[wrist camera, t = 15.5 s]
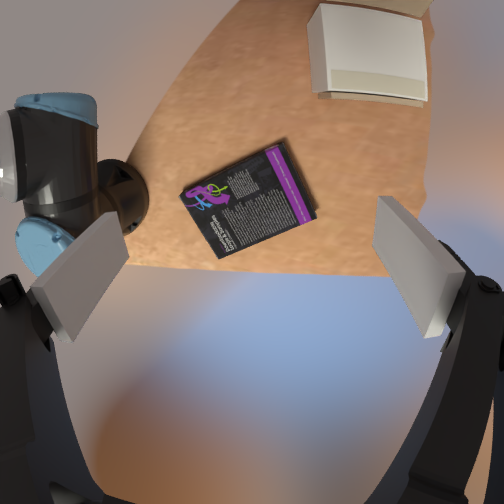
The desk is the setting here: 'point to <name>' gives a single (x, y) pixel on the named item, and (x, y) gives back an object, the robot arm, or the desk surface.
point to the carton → (367, 55)
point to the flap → (396, 5)
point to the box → (249, 201)
